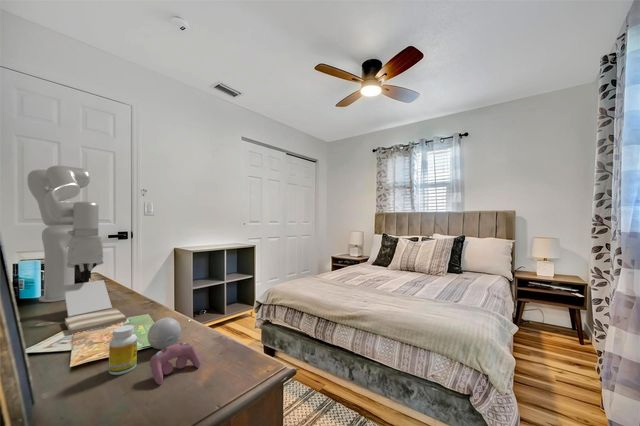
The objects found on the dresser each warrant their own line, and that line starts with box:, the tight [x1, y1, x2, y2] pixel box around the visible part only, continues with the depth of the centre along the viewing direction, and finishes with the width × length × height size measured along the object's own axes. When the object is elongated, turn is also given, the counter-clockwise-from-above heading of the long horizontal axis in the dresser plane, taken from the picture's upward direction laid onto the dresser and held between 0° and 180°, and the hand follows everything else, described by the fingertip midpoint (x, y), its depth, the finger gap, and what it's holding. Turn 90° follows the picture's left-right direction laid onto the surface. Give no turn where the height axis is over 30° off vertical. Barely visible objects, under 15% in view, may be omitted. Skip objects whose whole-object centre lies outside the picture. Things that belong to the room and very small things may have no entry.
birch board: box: [64, 307, 128, 336], centre depth 92 cm, size 14×14×2 cm
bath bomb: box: [147, 317, 182, 350], centre depth 75 cm, size 8×8×8 cm
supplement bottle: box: [108, 324, 138, 376], centre depth 65 cm, size 5×5×10 cm
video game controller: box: [149, 342, 201, 385], centre depth 64 cm, size 10×5×7 cm, turn 141°
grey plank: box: [63, 279, 113, 318], centre depth 102 cm, size 16×12×2 cm
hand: (85, 281), depth 106 cm, fingers closed
